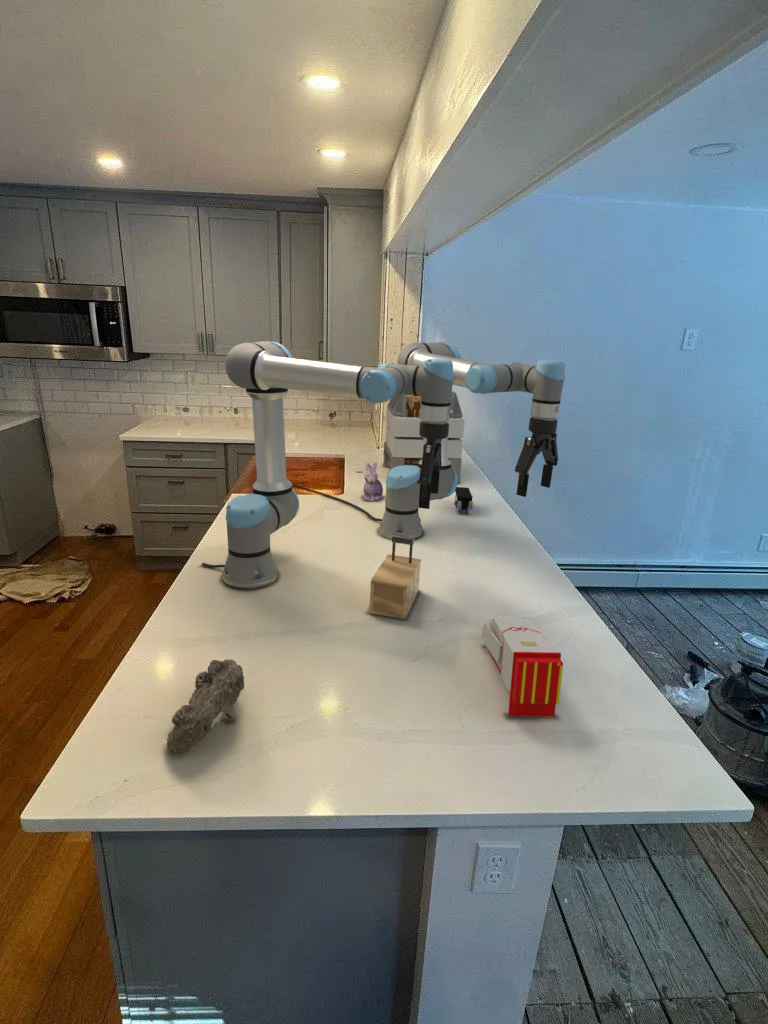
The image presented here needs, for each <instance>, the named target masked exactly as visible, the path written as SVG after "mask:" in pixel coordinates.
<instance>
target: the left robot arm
mask: <svg viewBox="0 0 768 1024" xmlns="http://www.w3.org/2000/svg"><path fill="white" fill-rule="evenodd" d="M224 368H225V373H226V375H227V377H228V379H229V380H230V381H231V382H232V383H233V384H234V385H235V386H237V387H239V388H242V389H245V394H246V395H248V396H249V397H250V398H251V404H252V407H251V408H252V419H253V421H252V423H253V436H254V437H253V438H254V452H255V469H256V481H255V482H254V483H253V484H252V486H251V487H252V493H249V494H248V493H247V494H244V495H238V496H236V497H234V498H233V499H231V500H230V501H229V502H228V503H227V505H226V511H225V512H226V513H225V522H226V534H227V535H226V536H227V552H228V554H227V557H226V560H225V564H209V563H207V562H206V563H205V562H202V563H201V566H203V567H207V568H212V569H213V568H214V569H219V568H223V570H222V571H223V572H222V580H223V581H224V583H225V584H226V585H228V586H230V587H232V588H235V589H241V590H242V589H243V590H251V589H252V590H253V589H258V588H263V587H266V586H269V585H272V584H273V583H274V582H275V581H276V580H277V579H278V568H277V565H276V562H275V559H274V557H273V554H272V551H271V535H272V534H274V533H275V532H278V530H280V529H282V528H283V527H286V526H287V525H289V524H290V523H292V521H293V520H294V519H295V518H296V517H297V515H298V513H299V510H300V498H299V496H298V493H296V492H295V489H293V486H292V484H293V483H292V482H291V481H290V480H289V479H288V477H287V460H286V457H287V456H286V455H287V454H286V439H285V437H286V434H285V414H284V412H285V411H284V397H285V396H286V395H287V394H288V392H289V390H292V391H293V390H294V391H302V392H308V393H309V392H310V393H318V394H324V395H325V394H326V395H333V396H341V397H349V398H358V399H363V400H366V401H367V402H370V403H372V404H383V403H384V404H385V403H386V402H389V401H390V400H391V399H392V398H395V397H397V396H400V395H407V396H415V397H417V396H418V397H421V410H420V419H421V420H422V421H421V422H420V428H419V435H420V436H421V437H423V438H427V442H426V444H424V446H423V448H424V449H423V457H422V464H421V471H420V478H419V481H418V480H417V484H420V494H419V508H418V509H424V510H429V509H430V508H431V507H430V505H431V500H430V494H431V493H435V494H438V489H439V477H440V471H439V470H443V466H441V465H442V454H441V446H442V445H441V443H442V439H445V438H447V437H448V433H449V424H448V423H447V422H448V421H449V418H450V413H452V412H453V411H452V410H450V405H451V395H452V392H453V386H454V385H453V363H452V361H450V360H447V359H435V358H428V359H425V360H424V364H423V366H411V365H400V364H397V363H393V362H391V363H381V364H379V365H378V366H377V367H374V366H364V365H355V364H349V363H348V364H346V363H337V362H329V361H320V360H311V359H303V358H295V357H293V356H292V354H291V352H290V351H289V350H288V349H287V347H286V346H284V345H283V344H281V343H279V342H276V341H270V340H269V341H268V340H262V341H255V342H243V343H238V344H237V345H235V346H233V347H232V348H231V349H230V350H229V352H228V353H227V355H226V358H225V361H224ZM424 478H425V479H424ZM426 479H427V480H426Z"/></svg>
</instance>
